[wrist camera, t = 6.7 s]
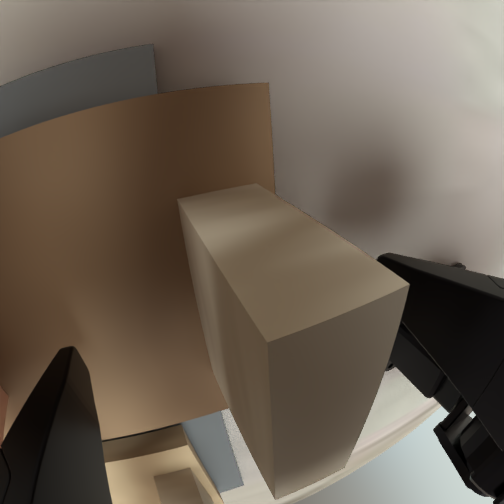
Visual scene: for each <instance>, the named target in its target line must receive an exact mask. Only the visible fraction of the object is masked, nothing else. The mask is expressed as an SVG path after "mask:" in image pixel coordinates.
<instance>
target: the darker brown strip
mask: <svg viewBox="0 0 504 504" xmlns="http://www.w3.org/2000/svg"><path fill="white" fill-rule="evenodd" d="M409 285H410V284H409V283H408V282H406V281H405V280H403V279H402V278H401V277H399V276H398V275H396V274H395V273H394V272H392V271H391V270H389V269H388V268H386V267H385V266H384V265H382V264H381V263H379V262H378V261H376V260H375V259H374V258H372V257H371V256H369V255H368V254H366V253H365V252H363V251H362V250H360V249H359V248H357V247H356V246H354V245H353V244H351V243H350V242H348V241H347V240H345V239H344V238H342V237H341V236H339V235H338V234H336V233H335V232H333V231H332V230H330V229H329V228H327V227H326V226H324V225H323V224H321V223H320V222H318V221H316V220H315V219H313V218H312V217H310V216H309V215H307V214H305V213H304V212H302V211H301V210H299V209H298V208H296V207H294V206H293V205H291V204H290V203H288V202H286V201H285V200H283V199H282V198H280V197H278V196H277V195H275V181H274V162H273V144H272V128H271V112H270V97H269V83H250V84H235V85H223V86H212V87H203V88H194V89H186V90H179V91H172V92H166V93H160V94H154V95H148V96H143V97H138V98H133V99H128V100H123V101H118V102H114V103H110V104H105V105H101V106H97V107H93V108H89V109H86V110H82V111H78V112H75V113H71V114H68V115H65V116H61V117H58V118H55V119H52V120H49V121H45V122H42V123H40V124H37V125H34V126H31V127H28V128H25V129H23V130H20V131H17V132H15V133H12V134H10V135H7V136H5V137H2V138H0V386H1V388H2V389H3V390H4V391H5V393H6V394H7V395H8V396H9V399H8V405H7V412H6V419H5V427H4V436H3V440H4V438H5V437H6V435H7V433H8V431H9V429H10V428H11V426H12V424H13V422H14V420H15V419H16V417H17V415H18V414H19V412H20V410H21V408H22V407H23V405H24V403H25V402H26V400H27V399H28V397H29V395H30V394H31V392H32V390H33V389H34V387H35V386H36V384H37V382H38V381H39V379H40V378H41V376H42V375H43V373H44V372H45V370H46V368H47V367H48V365H49V364H50V362H51V361H52V359H53V358H54V356H55V355H56V353H57V352H58V351H59V349H61V348H64V347H68V346H75V347H76V349H77V350H78V352H79V354H80V355H81V357H82V359H83V361H84V362H85V364H86V366H87V368H88V370H89V373H90V378H91V384H92V389H93V395H94V400H95V405H96V410H97V415H98V420H99V424H100V431H101V439H102V440H106V439H112V438H117V437H122V436H127V435H132V434H136V433H141V432H145V431H150V430H154V429H158V428H162V427H166V426H170V425H174V424H177V423H181V422H185V421H188V420H192V419H195V418H199V417H202V416H205V415H209V414H212V413H215V412H218V411H221V410H225V409H228V408H229V409H230V411H231V413H232V415H233V417H234V420H235V422H236V424H237V426H238V428H239V430H240V432H241V434H242V436H243V438H244V441H245V443H246V445H247V447H248V449H249V451H250V453H251V455H252V457H253V459H254V461H255V463H256V465H257V466H258V468H259V470H260V472H261V474H262V476H263V478H264V480H265V482H266V484H267V486H268V487H269V489H270V491H271V493H272V495H273V497H274V498H275V500H276V499H279V498H281V497H284V496H286V495H289V494H291V493H293V492H296V491H298V490H300V489H302V488H305V487H307V486H309V485H311V484H313V483H315V482H317V481H319V480H321V479H323V478H325V477H327V476H329V475H331V474H333V473H335V472H337V471H339V470H341V469H343V468H345V466H346V464H347V461H348V459H349V457H350V455H351V453H352V451H353V449H354V447H355V445H356V442H357V440H358V438H359V436H360V433H361V431H362V429H363V427H364V424H365V422H366V419H367V417H368V415H369V412H370V410H371V407H372V405H373V402H374V399H375V397H376V394H377V392H378V389H379V386H380V383H381V381H382V378H383V375H384V372H385V369H386V366H387V363H388V360H389V357H390V354H391V351H392V348H393V345H394V341H395V338H396V335H397V331H398V328H399V324H400V321H401V317H402V313H403V310H404V306H405V302H406V298H407V294H408V290H409Z"/></svg>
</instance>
